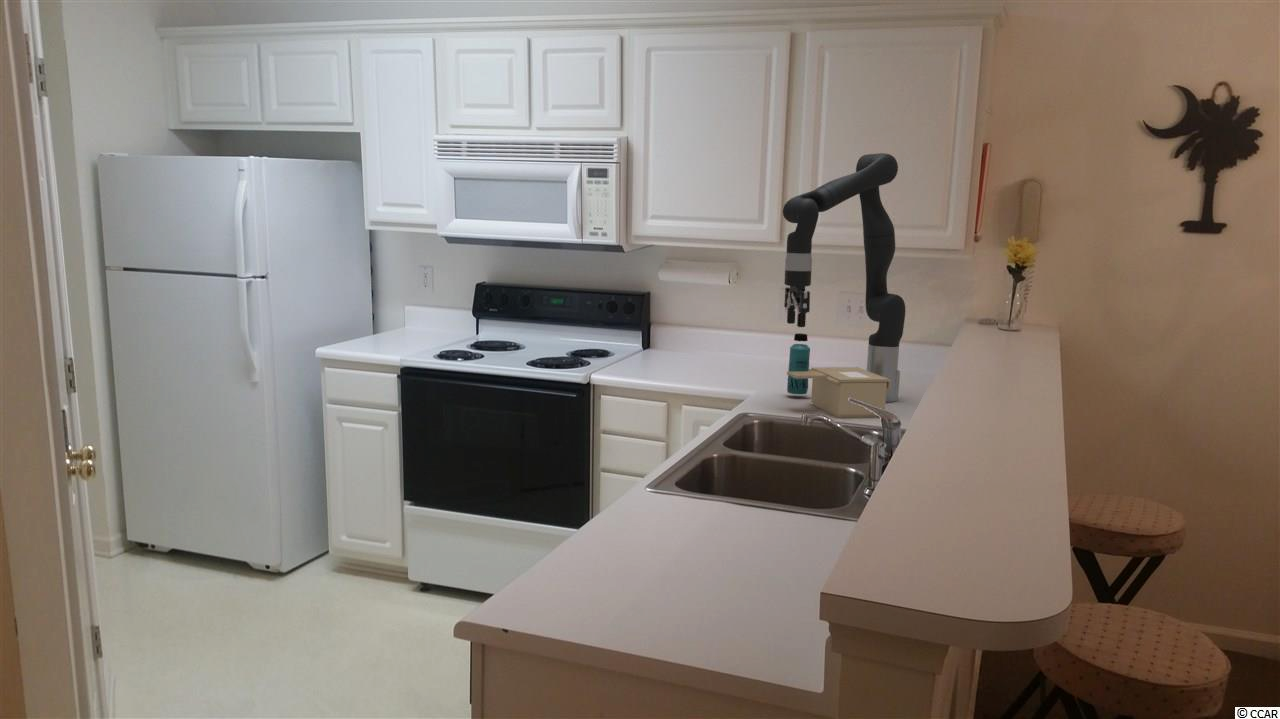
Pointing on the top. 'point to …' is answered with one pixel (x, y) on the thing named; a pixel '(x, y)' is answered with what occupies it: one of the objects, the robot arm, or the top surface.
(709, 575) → the top surface
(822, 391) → the mailer box
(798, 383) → the beverage bottle
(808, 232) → the robot arm
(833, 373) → the lid
